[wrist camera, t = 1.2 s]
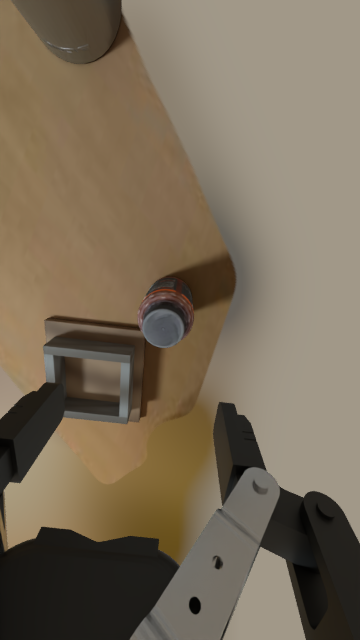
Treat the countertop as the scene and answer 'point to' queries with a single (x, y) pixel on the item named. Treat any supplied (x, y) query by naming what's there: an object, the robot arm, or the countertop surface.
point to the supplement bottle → (166, 312)
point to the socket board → (96, 369)
